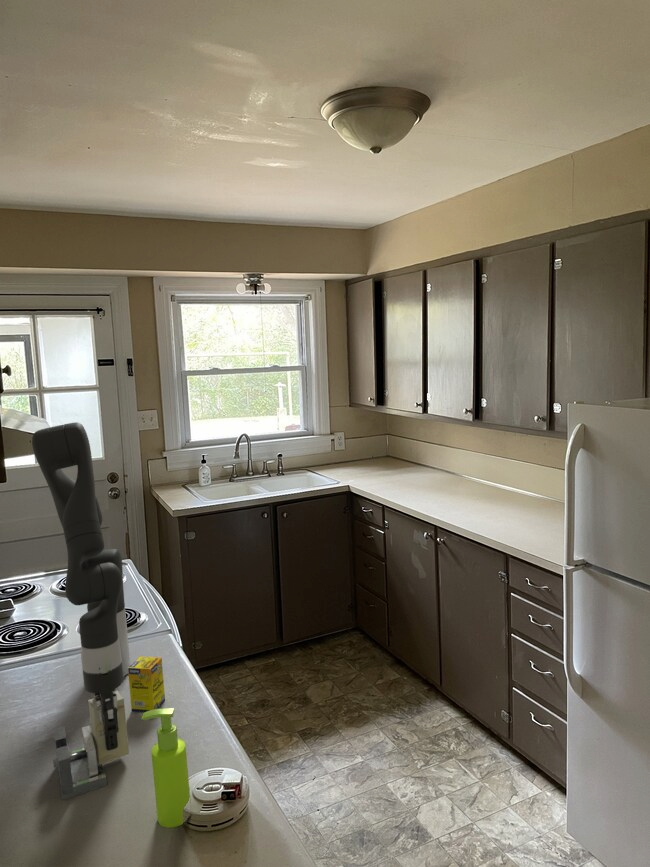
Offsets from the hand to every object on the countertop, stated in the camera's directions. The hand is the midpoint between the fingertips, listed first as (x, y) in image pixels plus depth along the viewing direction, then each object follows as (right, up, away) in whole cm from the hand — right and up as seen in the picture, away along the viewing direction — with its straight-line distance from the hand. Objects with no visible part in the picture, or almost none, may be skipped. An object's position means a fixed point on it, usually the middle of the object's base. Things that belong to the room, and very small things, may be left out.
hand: (110, 741), depth 130 cm
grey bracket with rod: (-5, -5, -3) cm, 8 cm away
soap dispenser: (+16, -6, -16) cm, 23 cm away
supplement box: (+2, -2, +22) cm, 22 cm away
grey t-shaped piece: (-6, -4, -3) cm, 8 cm away
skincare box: (0, -3, 0) cm, 3 cm away
